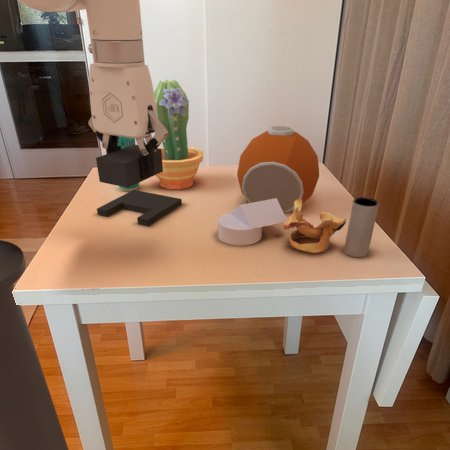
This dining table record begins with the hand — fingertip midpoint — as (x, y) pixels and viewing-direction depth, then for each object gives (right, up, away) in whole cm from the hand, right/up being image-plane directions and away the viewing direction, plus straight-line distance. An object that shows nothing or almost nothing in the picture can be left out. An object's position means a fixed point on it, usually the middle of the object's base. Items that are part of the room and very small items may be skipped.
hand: (131, 173), depth 73 cm
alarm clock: (+29, +2, +30) cm, 41 cm away
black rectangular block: (0, 0, 0) cm, 1 cm away
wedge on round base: (+21, -8, +16) cm, 27 cm away
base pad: (-4, -1, +26) cm, 26 cm away
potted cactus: (+3, +10, +41) cm, 43 cm away
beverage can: (-9, +7, +38) cm, 40 cm away
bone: (+33, -11, +12) cm, 37 cm away
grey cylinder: (+42, -13, +9) cm, 44 cm away
